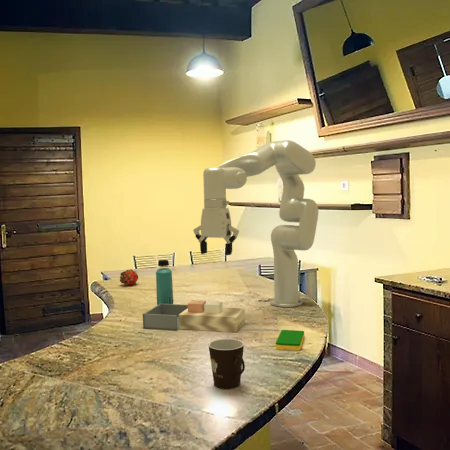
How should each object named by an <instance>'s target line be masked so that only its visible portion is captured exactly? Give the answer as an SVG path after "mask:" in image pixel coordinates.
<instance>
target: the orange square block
mask: <svg viewBox="0 0 450 450" xmlns="http://www.w3.org/2000/svg"><path fill="white" fill-rule="evenodd" d="M205 303H207V300H191V301H190V302H187V305H188V312H193V313H202V312H203V311H204V304H205Z"/></svg>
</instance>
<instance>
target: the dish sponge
mask: <svg viewBox="0 0 450 450" xmlns="http://www.w3.org/2000/svg"><path fill="white" fill-rule="evenodd" d="M304 339H305V331H304V330H297V329H296V330H295V329H294V330H293V329H292V330H291V329H281V330H280V332H279V335H278V337H277V338H276V341H275V350H279V351H280V350H281V351H295V352H296V351H297V352H299V351H301V349H302V345H303V342H304Z"/></svg>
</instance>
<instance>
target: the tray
mask: <svg viewBox="0 0 450 450" xmlns="http://www.w3.org/2000/svg"><path fill="white" fill-rule="evenodd" d="M187 308H188V304H178V303H177V304H176V303H175V304H174V303H173V304H159V305H157V304H156V306H154V307H151V309H148V310H147V311H146V312H144V313H142V326H143V329H145V330H147V329H148V330H164V331H165V330H167V331H178V330H180V329H179V314H180V313H182V312H183V311H184V310H186V309H187Z"/></svg>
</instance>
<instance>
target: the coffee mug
mask: <svg viewBox="0 0 450 450" xmlns="http://www.w3.org/2000/svg"><path fill="white" fill-rule="evenodd" d="M244 346H245V343H244V342H243V340H239V339H234V338H221V339H216V340H213V341H210V342H209V343H208V350H209V357H210V358H209V359H210V366H211V372H212V378H213V385H214V387H215V388H217V389H221V390H233V389H237V388H238V387H240V385H241V379H242V374H243V373H244V372H245V370H246V365H245V360H244V359H243V358H244V357H243V356H244Z"/></svg>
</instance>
